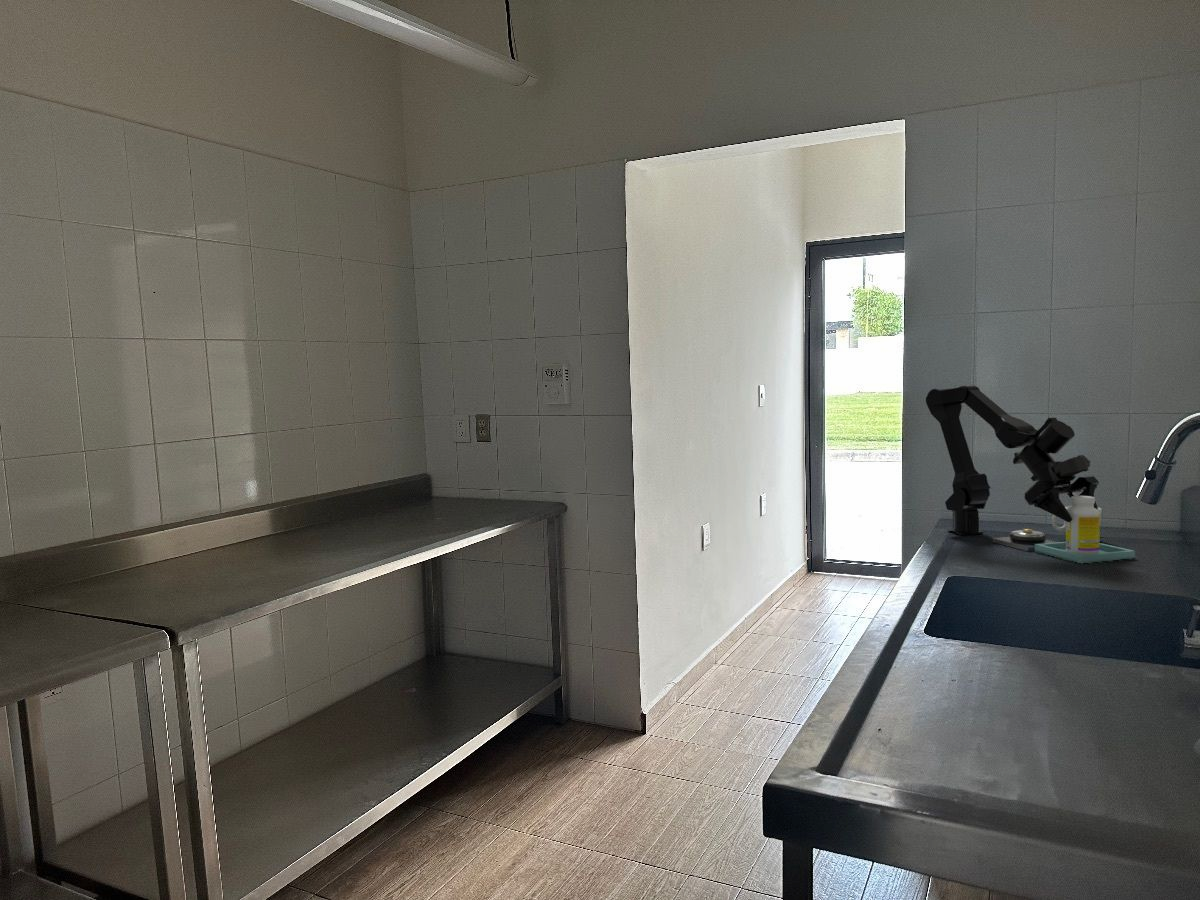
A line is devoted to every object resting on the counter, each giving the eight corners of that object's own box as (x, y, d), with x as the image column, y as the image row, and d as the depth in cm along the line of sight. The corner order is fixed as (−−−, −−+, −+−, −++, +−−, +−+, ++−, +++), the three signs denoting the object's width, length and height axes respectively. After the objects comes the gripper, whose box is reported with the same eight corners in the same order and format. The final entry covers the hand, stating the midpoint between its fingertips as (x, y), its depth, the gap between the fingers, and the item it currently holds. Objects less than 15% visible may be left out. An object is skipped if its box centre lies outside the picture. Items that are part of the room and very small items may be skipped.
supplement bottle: (1105, 553, 192) (1107, 497, 191) (1087, 557, 189) (1088, 500, 188) (1077, 548, 198) (1078, 494, 197) (1059, 552, 195) (1059, 496, 194)
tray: (1034, 551, 198) (1034, 544, 198) (1084, 547, 202) (1084, 539, 202) (1081, 564, 185) (1082, 556, 185) (1134, 558, 188) (1135, 550, 188)
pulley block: (992, 542, 211) (992, 527, 211) (1027, 539, 213) (1027, 524, 213) (1027, 551, 199) (1028, 535, 199) (1063, 548, 202) (1064, 532, 201)
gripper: (1036, 446, 192) (1080, 501, 183) (1092, 441, 200) (1137, 493, 191) (1006, 477, 200) (1047, 531, 191) (1061, 471, 207) (1103, 523, 198)
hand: (1084, 519), depth 193 cm, fingers open, 9 cm apart
